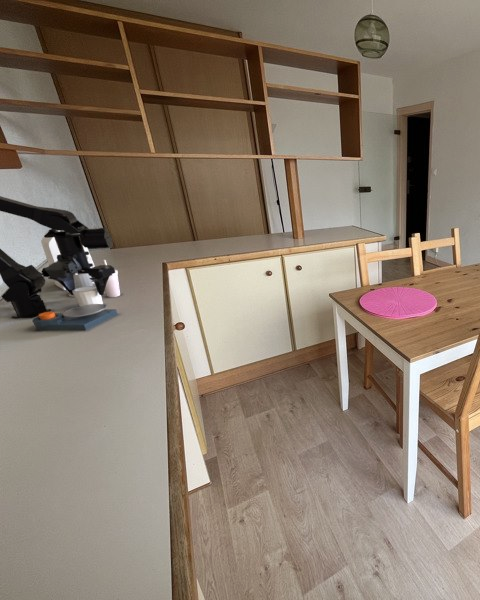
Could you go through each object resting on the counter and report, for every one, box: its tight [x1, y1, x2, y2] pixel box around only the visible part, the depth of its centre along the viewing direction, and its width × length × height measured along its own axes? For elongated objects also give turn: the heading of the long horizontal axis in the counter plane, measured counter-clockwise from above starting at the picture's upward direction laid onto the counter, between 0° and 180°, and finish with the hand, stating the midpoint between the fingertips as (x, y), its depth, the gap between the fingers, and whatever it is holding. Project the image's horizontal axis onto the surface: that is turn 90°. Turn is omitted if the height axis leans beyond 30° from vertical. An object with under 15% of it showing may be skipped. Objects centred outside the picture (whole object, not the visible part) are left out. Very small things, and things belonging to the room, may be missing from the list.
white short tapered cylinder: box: [72, 286, 104, 306], centre depth 108 cm, size 7×7×7 cm
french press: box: [60, 230, 96, 298], centre depth 119 cm, size 10×12×25 cm
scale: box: [32, 308, 118, 331], centre depth 98 cm, size 14×13×4 cm
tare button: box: [37, 311, 56, 320], centre depth 93 cm, size 3×3×2 cm
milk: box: [40, 230, 96, 291], centre depth 128 cm, size 12×12×26 cm
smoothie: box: [103, 259, 121, 298], centre depth 118 cm, size 6×6×14 cm
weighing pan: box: [62, 303, 107, 317], centre depth 98 cm, size 10×10×1 cm
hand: (87, 294), depth 108 cm, fingers open, 9 cm apart
